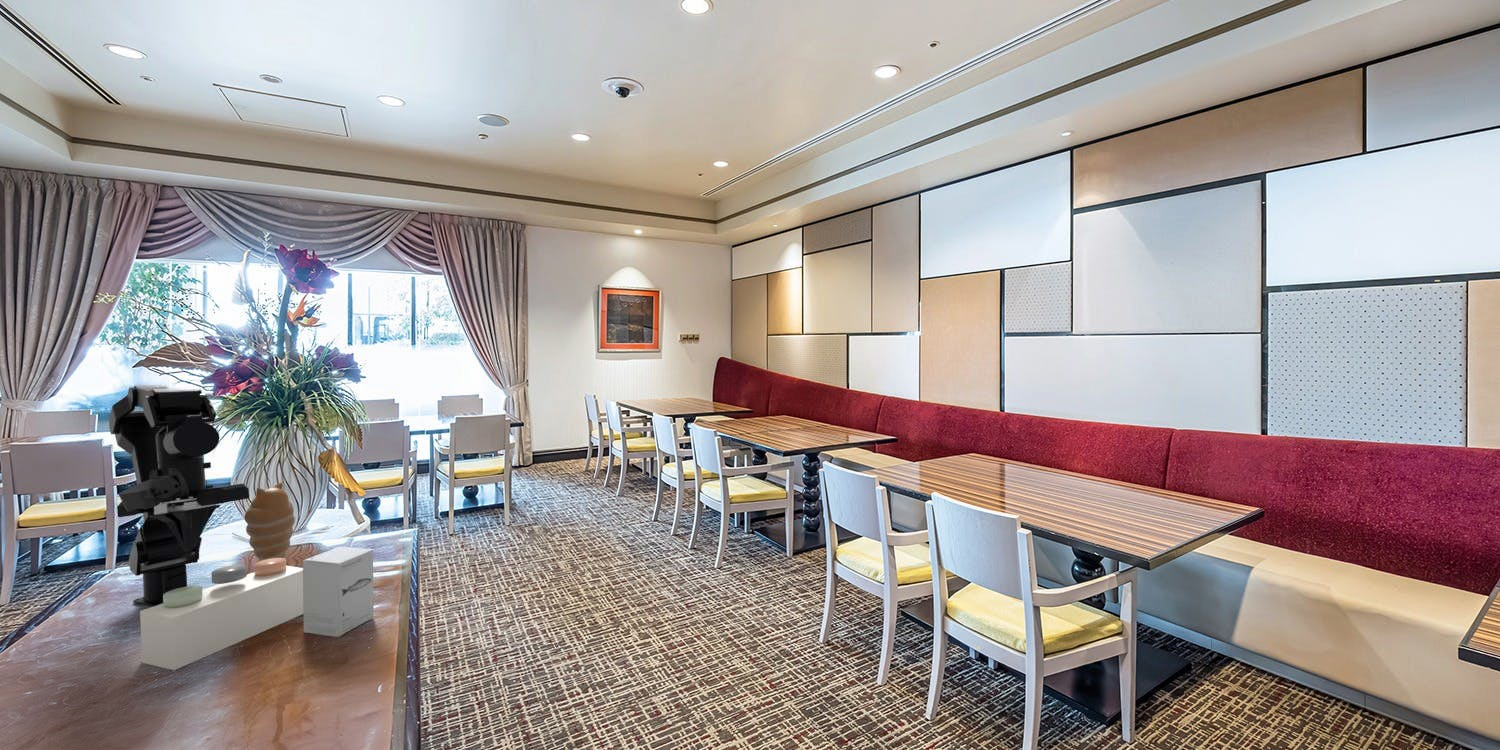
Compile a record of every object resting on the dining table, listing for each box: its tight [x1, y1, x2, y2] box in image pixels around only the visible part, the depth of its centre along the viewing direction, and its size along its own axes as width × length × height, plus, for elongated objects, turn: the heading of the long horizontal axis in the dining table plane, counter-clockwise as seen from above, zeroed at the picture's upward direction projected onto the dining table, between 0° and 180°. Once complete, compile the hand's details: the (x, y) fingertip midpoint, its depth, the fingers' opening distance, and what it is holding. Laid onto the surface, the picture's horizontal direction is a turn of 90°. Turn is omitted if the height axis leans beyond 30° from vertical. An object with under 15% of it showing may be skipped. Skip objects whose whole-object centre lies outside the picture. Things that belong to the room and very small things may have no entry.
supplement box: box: [302, 546, 375, 638], centre depth 102 cm, size 7×7×13 cm
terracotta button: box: [253, 557, 287, 575], centre depth 105 cm, size 4×4×2 cm
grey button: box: [210, 564, 248, 585], centre depth 98 cm, size 4×4×2 cm
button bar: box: [139, 565, 304, 671], centre depth 98 cm, size 7×20×8 cm, turn 164°
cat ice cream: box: [244, 482, 296, 562], centre depth 126 cm, size 9×8×18 cm
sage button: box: [163, 585, 203, 607], centre depth 92 cm, size 4×4×2 cm
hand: (189, 550), depth 102 cm, fingers closed
